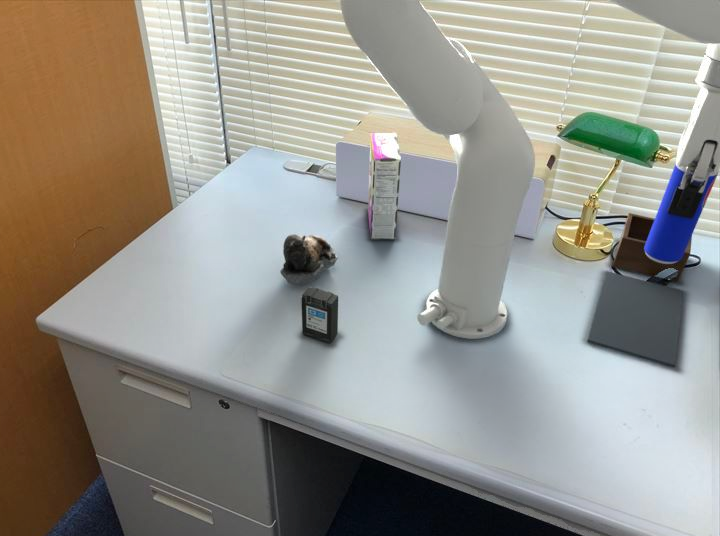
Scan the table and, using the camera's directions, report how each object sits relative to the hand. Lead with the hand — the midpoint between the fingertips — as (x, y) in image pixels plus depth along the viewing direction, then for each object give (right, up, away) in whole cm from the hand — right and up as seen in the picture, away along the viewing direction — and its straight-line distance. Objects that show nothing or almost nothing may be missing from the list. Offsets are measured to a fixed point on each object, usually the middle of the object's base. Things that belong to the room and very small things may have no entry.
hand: (681, 204), depth 87 cm
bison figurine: (-52, -9, +21) cm, 57 cm away
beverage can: (0, -7, +5) cm, 9 cm away
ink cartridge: (-50, -19, +9) cm, 54 cm away
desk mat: (0, -16, +12) cm, 20 cm away
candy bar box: (-38, +1, +34) cm, 51 cm away
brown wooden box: (+8, -6, +24) cm, 26 cm away
